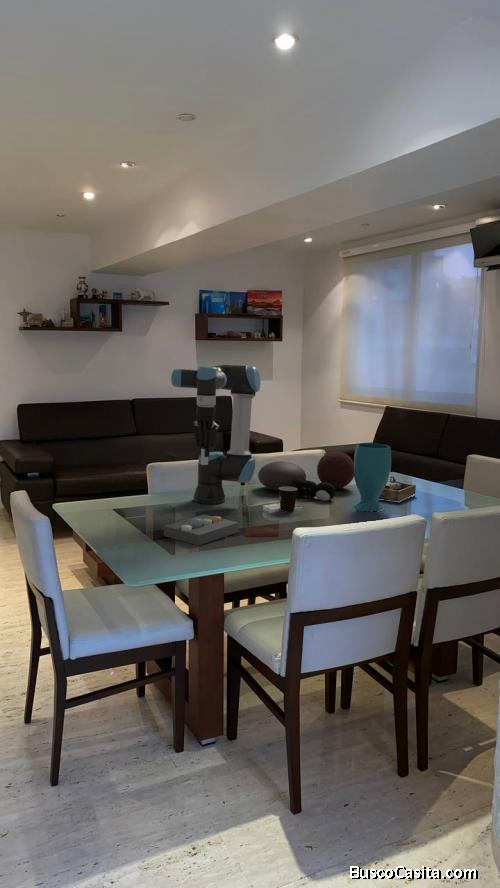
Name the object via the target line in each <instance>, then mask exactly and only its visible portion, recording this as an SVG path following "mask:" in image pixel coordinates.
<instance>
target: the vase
mask: <svg viewBox="0 0 500 888" xmlns="http://www.w3.org/2000/svg"><path fill="white" fill-rule="evenodd" d="M391 449H392V448H391V446H389V445H387V444H382V443H376V442H375V443H372V442H370V443H369V442H368V443H367V442H363V443H357V444H356V446H355V450H354V454H353V455H354V456H353V471H354V478H353V479H354V482H355V485H356V488H357V491H358V492H359V496H360V500H359V503H356V504H355V505H354V506H352V507H353V508H354V510H356V511H360V512H364V511H379V510H381V509H382V508H384V507H383V506H382V505H381V503H380V500H379V497H380V495H381V494H382V492H383V490H384V488H385V486H386V484H387V482H389V478H390V475H391V469H392V450H391Z"/></svg>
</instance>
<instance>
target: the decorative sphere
mask: <svg viewBox="0 0 500 888" xmlns="http://www.w3.org/2000/svg"><path fill="white" fill-rule="evenodd" d="M353 462H354V460H353V459H352V457H350V456H349V454H347V453H345V452H341V451H337V450H335V451H334V450H333V451H332V450H331V451H330V452H327V453H325V454H324V455H322V456H321V458H319V461H318V464H317V466H316V474H317V477H318V479H319V481H320V483H321V482H327V483H330V484H332V485H333V486H334V489H335V490H339V489H342V488H345V487H347V486H348V485H349V484H350V483H351V482H352V481H353V480H354V479H355V478H354V471H353Z"/></svg>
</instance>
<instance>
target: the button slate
mask: <svg viewBox="0 0 500 888" xmlns="http://www.w3.org/2000/svg"><path fill="white" fill-rule="evenodd" d="M192 518H193V517H192ZM192 527H195V528H200V527H202V519H200V518H193V519H192Z"/></svg>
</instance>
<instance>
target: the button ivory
mask: <svg viewBox="0 0 500 888" xmlns="http://www.w3.org/2000/svg"><path fill="white" fill-rule="evenodd" d="M181 530H184V531H190V530H192V526H191V525H182V526H181Z"/></svg>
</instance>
